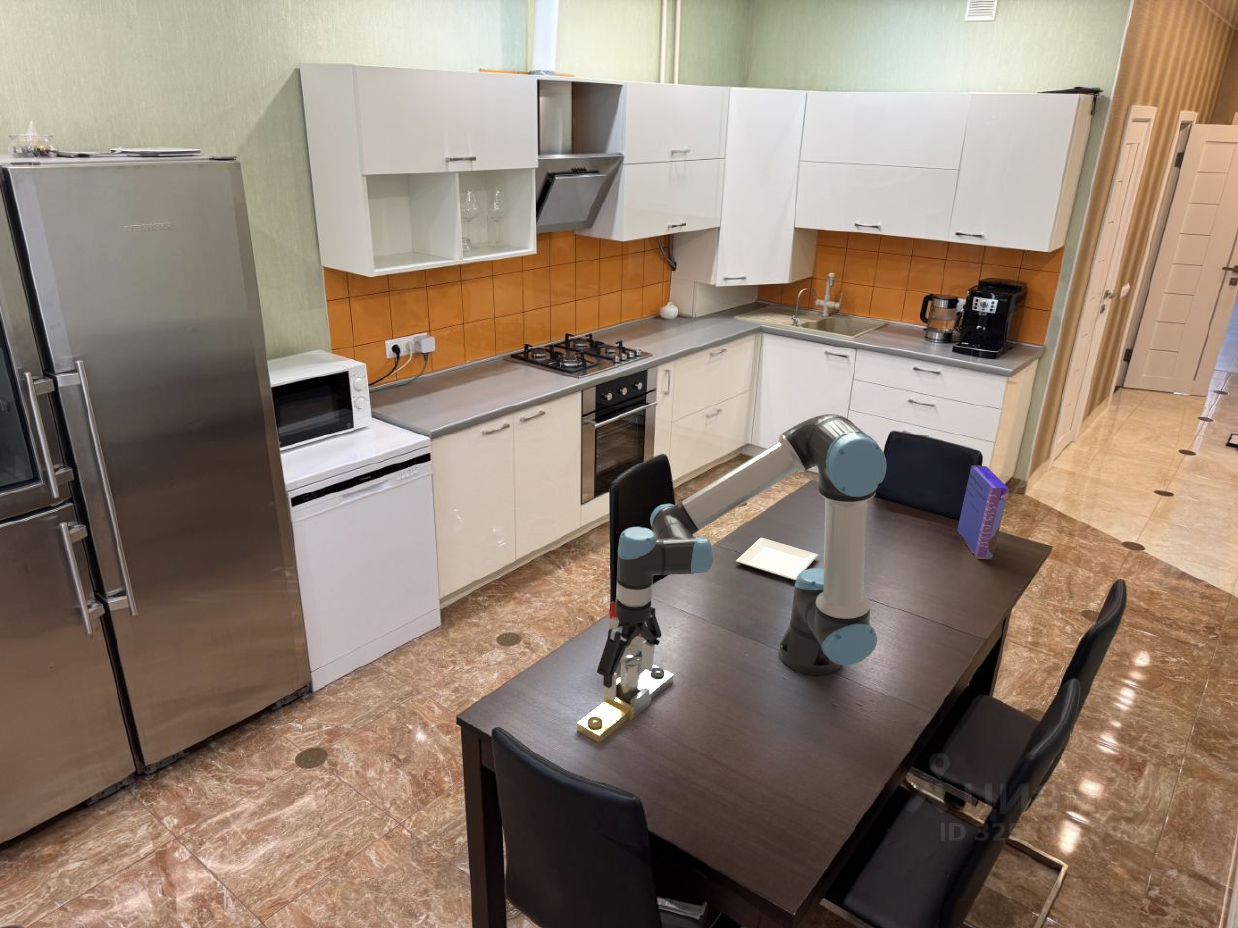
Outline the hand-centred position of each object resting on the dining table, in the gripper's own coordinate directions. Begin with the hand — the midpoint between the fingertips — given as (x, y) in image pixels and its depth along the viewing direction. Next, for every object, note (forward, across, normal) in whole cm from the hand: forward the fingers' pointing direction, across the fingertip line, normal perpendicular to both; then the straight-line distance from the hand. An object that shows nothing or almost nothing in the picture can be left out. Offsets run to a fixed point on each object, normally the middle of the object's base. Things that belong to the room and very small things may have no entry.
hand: (628, 682), depth 189 cm
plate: (+6, -82, -6) cm, 82 cm away
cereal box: (+6, -134, +36) cm, 139 cm away
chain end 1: (+6, +6, 0) cm, 8 cm away
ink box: (+6, -16, -12) cm, 21 cm away
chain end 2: (+6, -5, 0) cm, 8 cm away
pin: (+6, 0, 0) cm, 6 cm away
